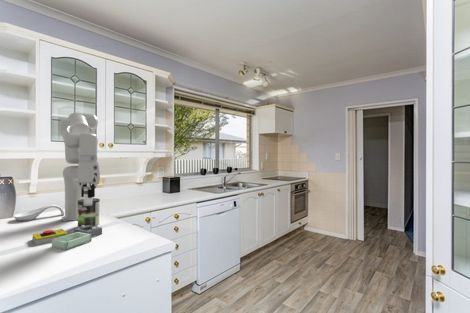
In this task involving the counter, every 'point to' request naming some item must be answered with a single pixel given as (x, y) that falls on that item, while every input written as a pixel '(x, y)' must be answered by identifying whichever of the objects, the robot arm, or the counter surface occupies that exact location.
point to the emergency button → (46, 236)
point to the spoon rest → (35, 213)
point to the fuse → (87, 200)
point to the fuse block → (89, 230)
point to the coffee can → (88, 213)
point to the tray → (71, 240)
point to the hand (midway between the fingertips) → (88, 196)
